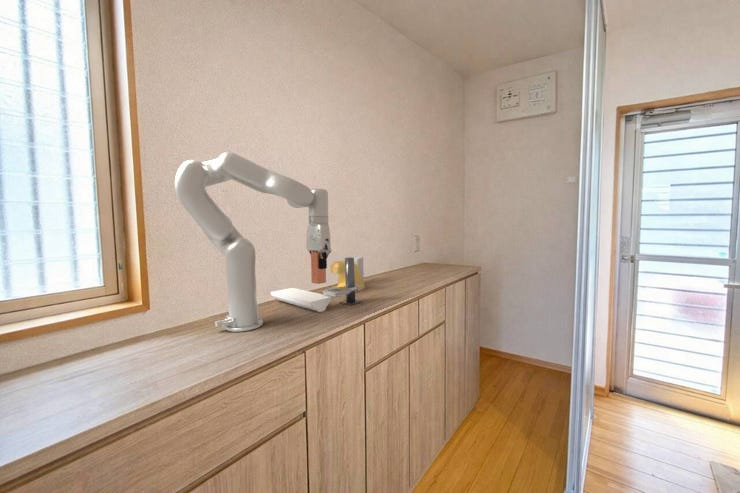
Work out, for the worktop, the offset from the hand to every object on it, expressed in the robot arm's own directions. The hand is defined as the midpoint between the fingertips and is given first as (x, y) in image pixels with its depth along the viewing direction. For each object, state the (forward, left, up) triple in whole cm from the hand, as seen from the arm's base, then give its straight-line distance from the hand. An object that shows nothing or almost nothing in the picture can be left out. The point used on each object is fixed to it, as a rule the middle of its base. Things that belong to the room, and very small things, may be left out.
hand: (319, 267), depth 132 cm
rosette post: (+15, +3, -18) cm, 24 cm away
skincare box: (+47, +29, -19) cm, 58 cm away
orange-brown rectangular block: (-1, 0, -6) cm, 6 cm away
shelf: (+2, +17, -19) cm, 26 cm away
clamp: (+33, +21, -19) cm, 43 cm away
